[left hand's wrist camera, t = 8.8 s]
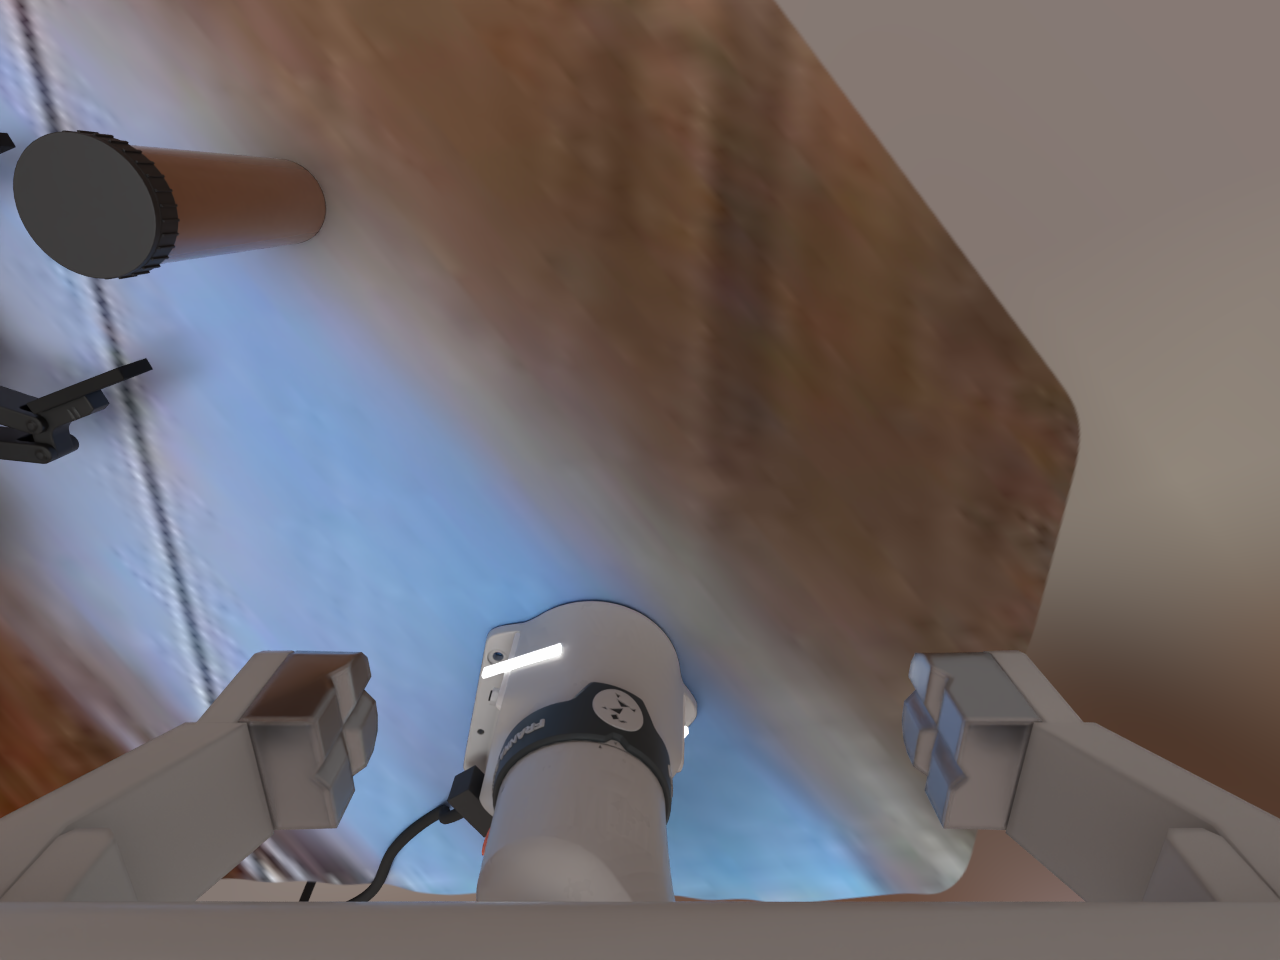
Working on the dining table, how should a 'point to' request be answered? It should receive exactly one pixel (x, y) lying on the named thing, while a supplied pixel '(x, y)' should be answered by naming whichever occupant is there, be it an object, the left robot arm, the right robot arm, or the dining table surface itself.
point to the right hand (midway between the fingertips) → (68, 259)
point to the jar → (237, 201)
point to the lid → (95, 204)
